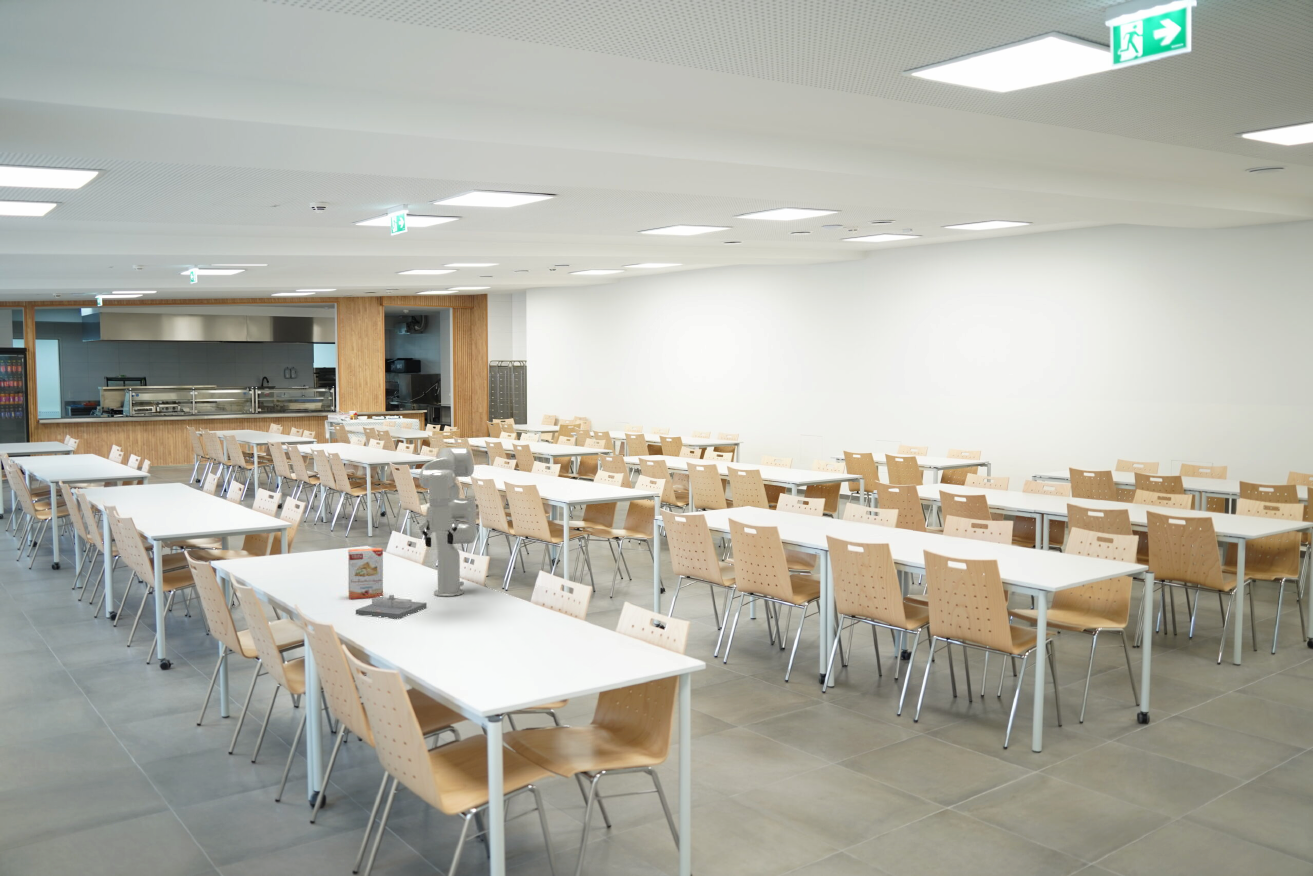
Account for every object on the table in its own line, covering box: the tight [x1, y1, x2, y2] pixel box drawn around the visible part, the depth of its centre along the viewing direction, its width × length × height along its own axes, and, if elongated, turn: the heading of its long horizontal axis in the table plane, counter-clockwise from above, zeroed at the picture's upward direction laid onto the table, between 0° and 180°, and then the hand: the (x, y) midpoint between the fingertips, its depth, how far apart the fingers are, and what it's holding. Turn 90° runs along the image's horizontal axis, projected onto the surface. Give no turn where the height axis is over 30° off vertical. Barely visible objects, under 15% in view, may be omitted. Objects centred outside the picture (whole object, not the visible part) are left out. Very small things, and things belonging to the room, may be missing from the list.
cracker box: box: [347, 547, 384, 600], centre depth 424 cm, size 14×6×21 cm, turn 112°
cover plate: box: [355, 594, 428, 620], centre depth 399 cm, size 20×20×6 cm
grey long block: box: [371, 596, 412, 609], centre depth 399 cm, size 5×16×3 cm, turn 71°
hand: (439, 545), depth 394 cm, fingers open, 9 cm apart
